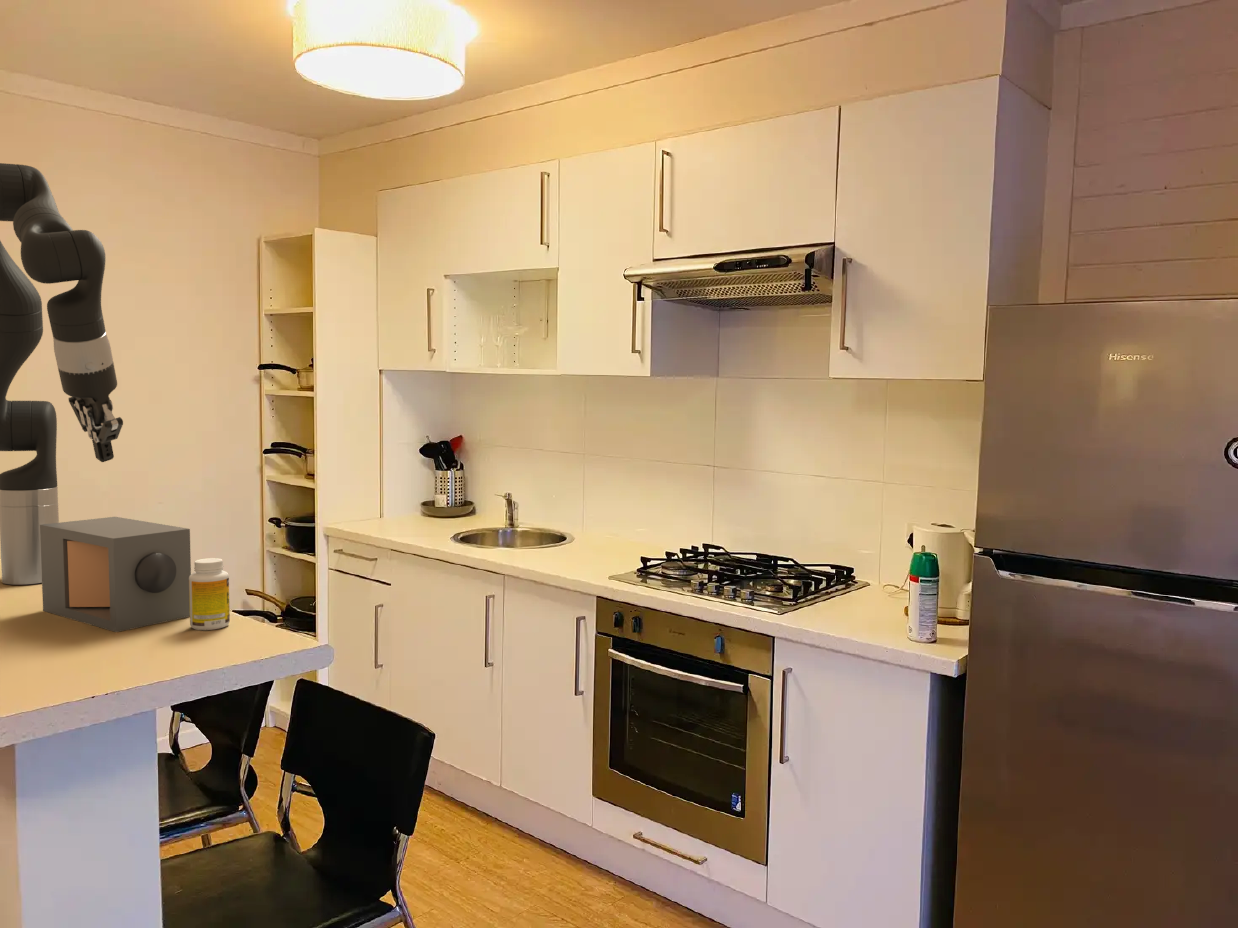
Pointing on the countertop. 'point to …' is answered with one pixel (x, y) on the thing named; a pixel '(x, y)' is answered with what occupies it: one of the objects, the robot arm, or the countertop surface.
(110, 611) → the housing
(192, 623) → the supplement bottle
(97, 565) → the door
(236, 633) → the countertop surface
